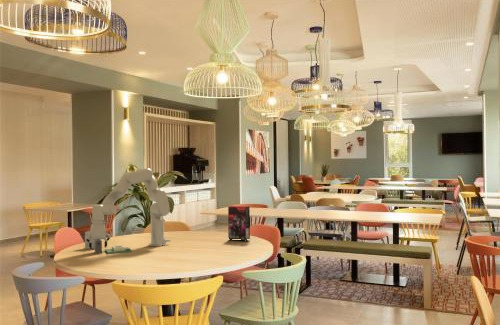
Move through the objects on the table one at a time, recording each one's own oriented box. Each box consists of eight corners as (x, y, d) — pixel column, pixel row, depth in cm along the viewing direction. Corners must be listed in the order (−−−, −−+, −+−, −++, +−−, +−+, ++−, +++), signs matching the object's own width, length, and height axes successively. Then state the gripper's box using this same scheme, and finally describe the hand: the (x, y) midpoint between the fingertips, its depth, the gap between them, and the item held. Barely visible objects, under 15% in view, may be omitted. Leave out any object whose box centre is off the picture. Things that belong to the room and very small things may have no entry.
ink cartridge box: (101, 247, 325) (101, 227, 325) (97, 249, 320) (97, 228, 320) (88, 247, 327) (88, 227, 327) (84, 248, 322) (84, 228, 322)
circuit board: (128, 249, 319) (128, 244, 319) (131, 251, 307) (131, 247, 307) (104, 250, 312) (104, 246, 312) (107, 253, 300) (107, 249, 300)
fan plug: (100, 251, 309) (100, 240, 310) (102, 253, 301) (102, 241, 301) (94, 252, 308) (94, 240, 308) (96, 254, 299) (96, 242, 300)
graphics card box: (227, 240, 357) (227, 206, 358) (232, 239, 363) (232, 205, 364) (245, 242, 348) (245, 206, 349) (250, 240, 354) (250, 206, 355)
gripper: (110, 221, 313) (110, 246, 313) (84, 222, 306) (84, 248, 305) (112, 222, 307) (112, 247, 306) (85, 224, 299) (85, 249, 299)
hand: (98, 248), depth 306 cm, fingers open, 9 cm apart
